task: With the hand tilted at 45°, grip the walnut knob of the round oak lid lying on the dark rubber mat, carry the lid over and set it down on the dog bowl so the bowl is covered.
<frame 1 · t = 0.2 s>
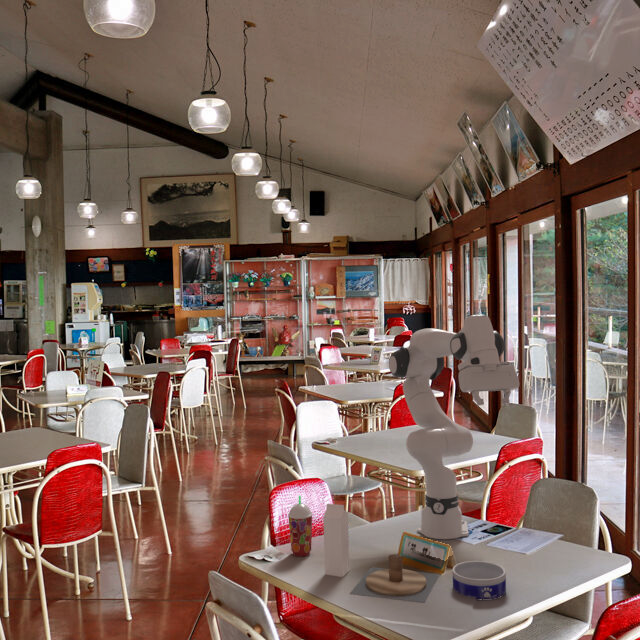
hand: (493, 404, 221), 52 cm above the table, tool tilted 20°, fingers open, 8 cm apart
milk: (337, 574, 221), on the table
dog bowl: (479, 590, 206), on the table
smoothie: (301, 554, 241), on the table
lid: (396, 583, 210), point 1 cm above the table, touching mat
mat: (396, 585, 210), on the table
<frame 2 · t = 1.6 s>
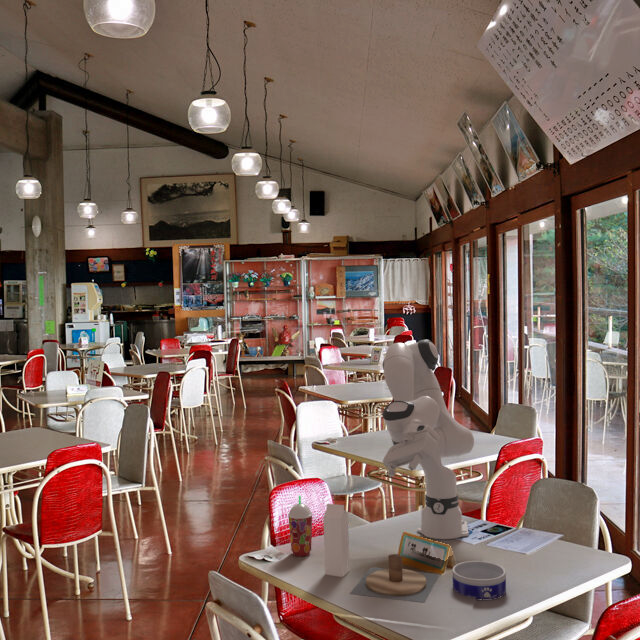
hand: (400, 472, 215), 33 cm above the table, tool tilted 50°, fingers open, 8 cm apart
nothing on the table moved.
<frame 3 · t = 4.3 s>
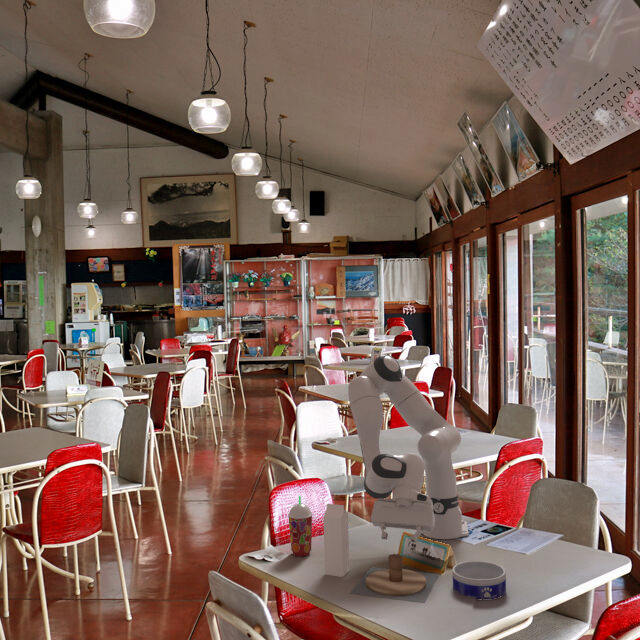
hand: (398, 539, 218), 11 cm above the table, tool tilted 45°, fingers open, 8 cm apart
nothing on the table moved.
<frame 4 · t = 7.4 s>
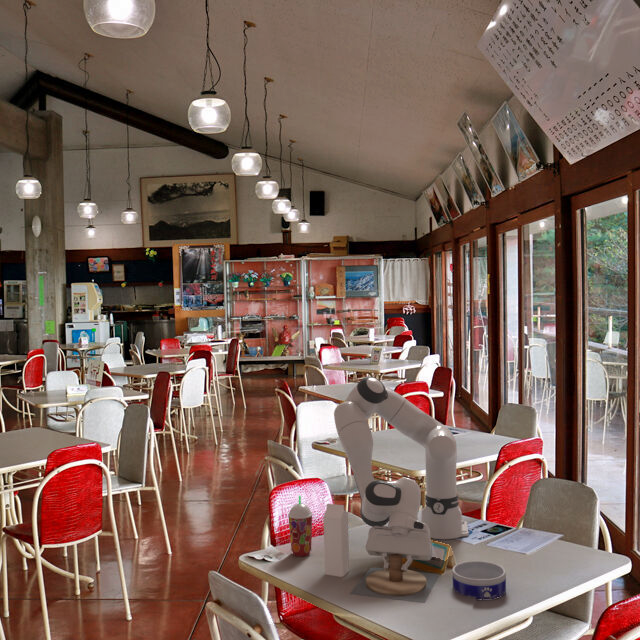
hand: (395, 570, 210), 5 cm above the table, tool tilted 45°, fingers closed on lid, 4 cm apart
lid: (396, 583, 210), point 1 cm above the table, touching gripper, mat
everything else where it was.
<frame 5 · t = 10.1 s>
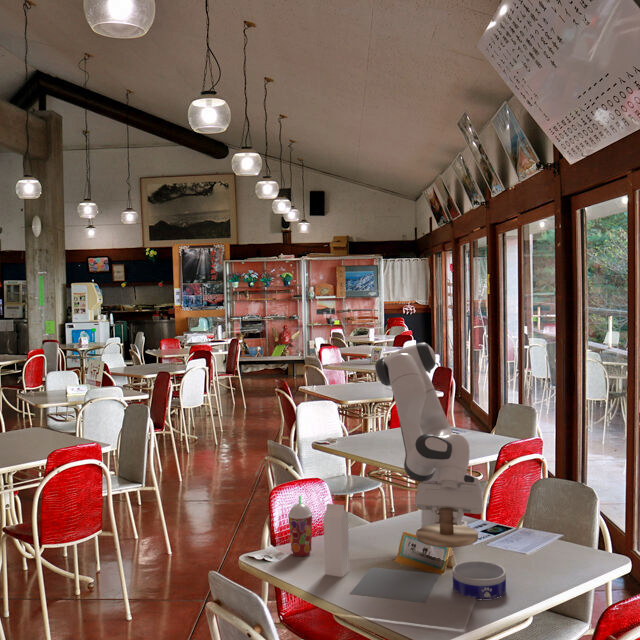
hand: (446, 523, 207), 19 cm above the table, tool tilted 45°, fingers closed on lid, 4 cm apart
lid: (446, 537, 207), point 15 cm above the table, touching gripper
everything else where it was.
when the fingers open (12 cm above the table, at t = 12.9 s): lid drops 2 cm, resting on dog bowl.
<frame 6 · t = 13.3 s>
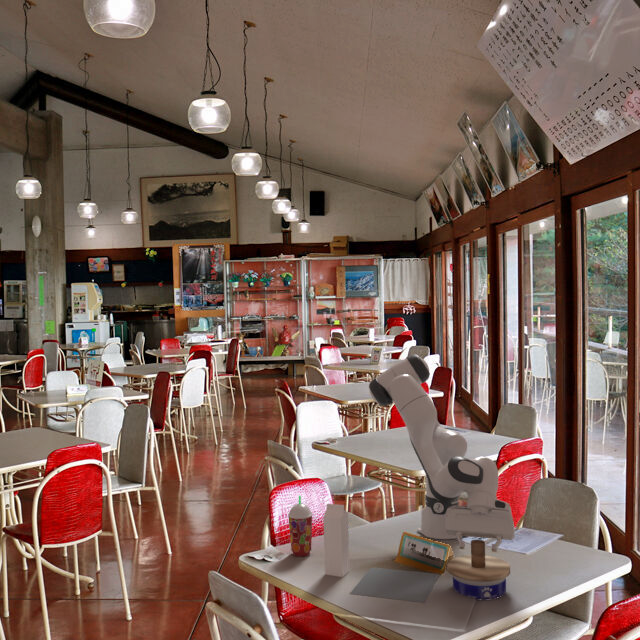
hand: (477, 549, 205), 12 cm above the table, tool tilted 45°, fingers open, 8 cm apart
dog bowl: (479, 590, 206), on the table, touching lid
lid: (478, 569, 206), point 6 cm above the table, touching dog bowl
everything else where it was.
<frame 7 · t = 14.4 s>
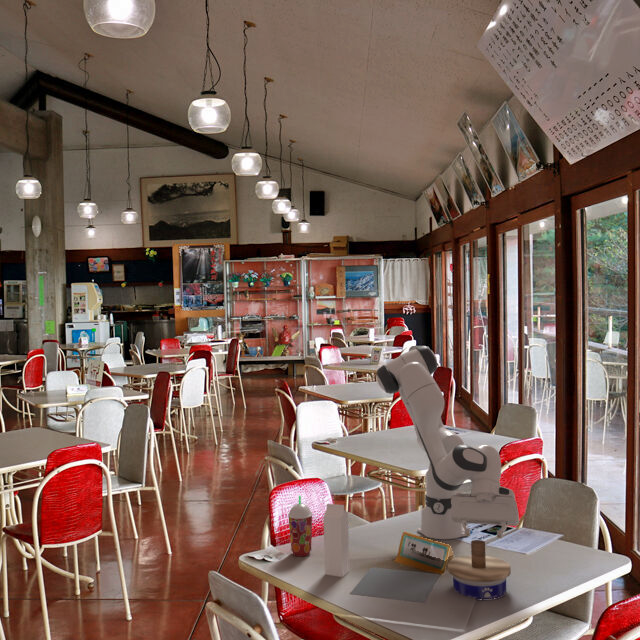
hand: (483, 536, 208), 15 cm above the table, tool tilted 45°, fingers open, 8 cm apart
nothing on the table moved.
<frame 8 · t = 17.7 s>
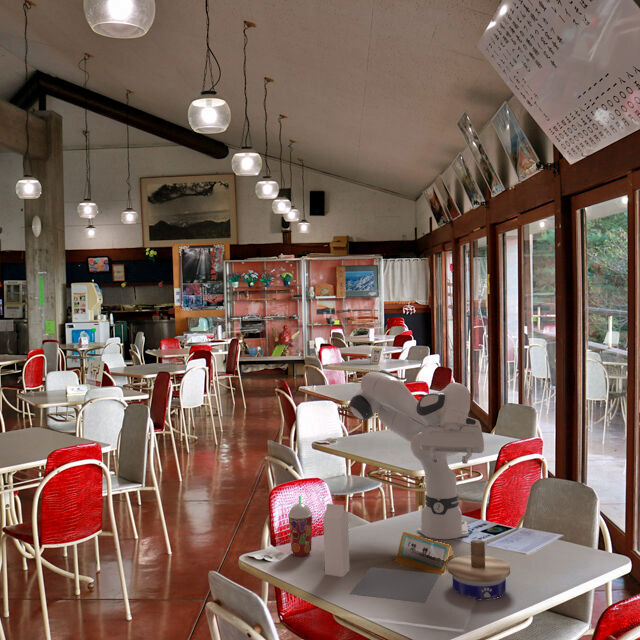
hand: (449, 461, 220), 34 cm above the table, tool tilted 45°, fingers open, 8 cm apart
nothing on the table moved.
at the end: lid inside the target area on the dog bowl (0.1 cm from its centre), point 6.2 cm above the dog bowl's base; lid touching dog bowl; the gripper is holding nothing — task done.
